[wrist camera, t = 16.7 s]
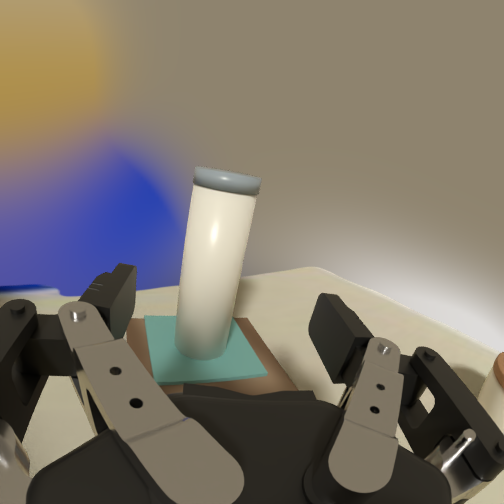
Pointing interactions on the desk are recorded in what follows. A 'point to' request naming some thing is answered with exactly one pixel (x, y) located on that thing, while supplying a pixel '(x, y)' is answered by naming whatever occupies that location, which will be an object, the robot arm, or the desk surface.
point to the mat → (198, 371)
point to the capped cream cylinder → (213, 259)
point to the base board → (250, 386)
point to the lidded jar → (494, 392)
